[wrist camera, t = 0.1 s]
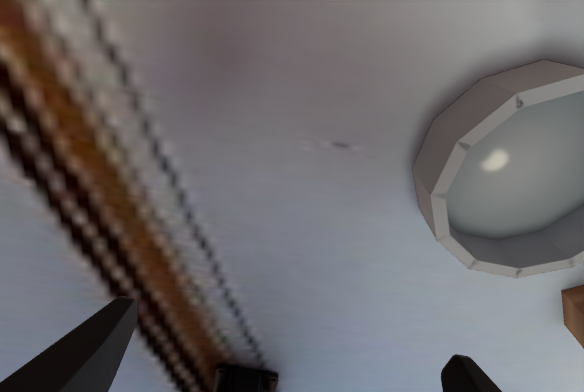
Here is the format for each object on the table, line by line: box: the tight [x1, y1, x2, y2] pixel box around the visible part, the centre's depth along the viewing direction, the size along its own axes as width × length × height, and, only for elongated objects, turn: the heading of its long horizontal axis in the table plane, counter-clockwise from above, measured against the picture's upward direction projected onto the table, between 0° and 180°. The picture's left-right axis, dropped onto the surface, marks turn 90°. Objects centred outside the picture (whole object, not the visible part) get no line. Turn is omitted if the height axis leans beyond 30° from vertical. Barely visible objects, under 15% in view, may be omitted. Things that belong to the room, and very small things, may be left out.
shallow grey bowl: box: [412, 60, 584, 278], centre depth 20 cm, size 13×13×4 cm
